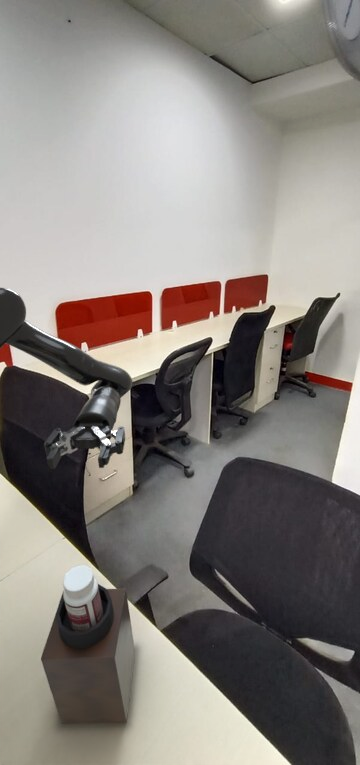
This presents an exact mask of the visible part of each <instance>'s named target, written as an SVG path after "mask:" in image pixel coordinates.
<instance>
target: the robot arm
mask: <svg viewBox="0 0 360 765" xmlns="http://www.w3.org/2000/svg"><path fill="white" fill-rule="evenodd" d="M26 317H27V307H26V304H25V301H24V299H23V298H22V296H21V295H20V294H18V292H16V291H14V290H13V289H10V288H8V287H7V288H6V287H0V349H1V348H2V347H3V346H5V345H9V346H10V347H13V348H15V349H17V350H20V351H22V352H24V353H26V354H27V355H29V356H32V357H33V358H35V359H37V360H39V361H41V363H44V364H45V365H47V366H49V367H50V368H52V369H53V370H55V371H57V372H59V373H60V374H61V375H63V376H66V377H67V378H69V379H70V380H73V382H75V383H77V384H78V385H81V386H84V387H86V386H90V385H93V384H94V383H95V384H94V385H93V386H92V387H91V389H90V396H89V399H88V400H87V401H86V403H85V404H84V405H83V407H82V408H81V410H80V411H79V413H78V415H77V417H76V418H75V421H74V423H73V427H72V428H70V429H69V430H68V431H62V428H60V427H56V428H54V430H53V431H52V432H51V433H50V435H48V438H47V439H46V440H45V441H44V443H43V446H44V450H45V454H46V462H47V466H48V467H49V469H50V470H55V469H56V468H57V466H58V464H59V462H60V461H61V458H62V456H64V455H66V454H69V455H70V454H72V453H74V452H76V451H78V450H85V449H87V450H95V448H96V449H97V450H98V451H99V455H98V457H97V463H98V468H99V469H104V468H105V466H107V465H108V464H109V462H110V460H111V457H112V456H113V455H114V454H117V455H122V454H123V453H124V449H125V442H126V433H125V432H126V431H125V427H124V426H119V427H117V429H115V430H113V428H114V427H115V424H116V422H117V418H118V412H119V409H120V407H121V401H122V397H124V396H125V395H126V394H127V393H129V391H130V390H131V389H132V387H133V384H134V383H133V379H132V377H131V375H130V374H129V372H128V371H126V370H125V369H123V368H122V367H121V366H120V367H119V366H117V365H113V364H110V363H107V362H105V361H102V360H98V359H96V358H94V357H93V356H91V355H90V354H88V353H87V352H85V351H84V350H82V349H81V348H79V347H77V346H76V345H74V344H73V343H70V342H68V341H66V340H63V339H61V338H59V337H57V336H55V335H52V334H50V333H48V332H45V331H44V330H42V329H40V328H38V327H37V326H35V325H33V324H32V323H30V322H29V321H28V320H26ZM112 438H113V439H114V442H111V441H110V440H111V439H112ZM62 447H63V448H62ZM61 448H62V449H61Z"/></svg>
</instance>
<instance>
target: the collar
mask: <svg viewBox="0 0 360 765" xmlns="http://www.w3.org/2000/svg"><path fill="white" fill-rule="evenodd" d="M98 588H99V593H100V598H101V603H102V609H103V617H102V619H101V620H100V621H99V622H98V624H97V625H95V626H93V627H91V628H89V629H87V630H86V631H74V630H73V628H72V627H71V624H70V621H69V617H68V613H67V609H66V605H65V601H64V597H63V598H62V599H61V598H60V599H61V601H60V600H59V602H60V603H59V602H58V605H59V606H57V608H58V609H57V608H56V611H57V612H55V614H56V620H57V624H58V628H59V634H60V637H61V639H62V641H63V642H64V643H65V644H66V645H67V646H69V647H71V648H74V649H85V648H89V647H91V646H94V645H95V644H97V643H98V642H100V641H101V640H102V639H103V638H104V637H105V636H106V635H107V633H108V632H109V630H110V628H111V626H112V623H113V618H114V611H113V605H112V600H111V597H110V595H109V592H108V590H107V589H108V588H107V587H105V586H103V585H101V584H100V583H98Z"/></svg>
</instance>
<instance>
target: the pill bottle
mask: <svg viewBox="0 0 360 765" xmlns="http://www.w3.org/2000/svg"><path fill="white" fill-rule="evenodd" d="M98 584H99V583H98V581H97V579H96V578H95V576H94V572H93V570H92V569H91V567H90V566H87V565H84V564H81V565H80V564H79V565H76V566H74V567H72V568H70V569H69V570H68V571H67V572H66V573H65V575H64V576H63V580H62V585H63V590H64V592H63V591H62V593H63V597H64V601H65V605H66V609H67V613H68V617H69V621H70V624H71V627H72V628H73V630H74V631H86V630H87V629H89V628H91V627H93V626H95V625H97V624H98V622H99V621H100V620H101V619H102V617H103V609H102V603H101V598H100V593H99V588H98Z"/></svg>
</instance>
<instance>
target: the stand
mask: <svg viewBox="0 0 360 765" xmlns="http://www.w3.org/2000/svg"><path fill="white" fill-rule="evenodd" d="M106 589H107V590H108V592H109V595H110V597H111V600H112V605H113V611H114V618H113V623H112V626H111V628H110V630H109V632H108V633H107V635H106V636H105V637H104V638H103V639H102V640H101V641H100V642H98V643H97V644H95V645H94V646H91V647H89V648H85V649H74V648H71V647H69V646H67V645H66V644H65V643H64V642H63V641H62V639H61V637H60V634H59V628H58V624H57V620H56V612H57V609H58V606H59V603H60V601H61V599H62V598H63V592H64V589H63V590H62V594H61V597H60V600H59V602H58V606H57V608H56V612H55V614H54V617H53V619H52V620H53V621H52V623H51V627H50V629H49V633H48V635H47V637H46V638H47V639H46V641H45V644H44V648H43V650H42V654H41V657H40V662H41V664H42V667H43V670H44V674H45V677H46V679H47V683H48V687H49V689H50V693H51V695H52V699H53V703H54V706H55V708H56V711H57V714H58V717H59V722H60V724H117V723H118V724H121V723H125V724H126V723H127V722H128V714H129V705H130V696H131V690H132V689H131V688H132V680H133V671H134V664H135V653H136V649H135V642H134V635H133V628H132V621H131V615H130V607H129V600H128V593H127V588H106Z"/></svg>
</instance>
